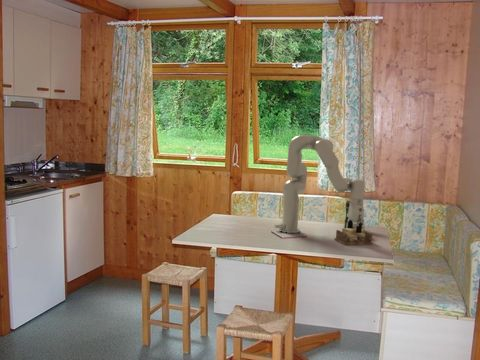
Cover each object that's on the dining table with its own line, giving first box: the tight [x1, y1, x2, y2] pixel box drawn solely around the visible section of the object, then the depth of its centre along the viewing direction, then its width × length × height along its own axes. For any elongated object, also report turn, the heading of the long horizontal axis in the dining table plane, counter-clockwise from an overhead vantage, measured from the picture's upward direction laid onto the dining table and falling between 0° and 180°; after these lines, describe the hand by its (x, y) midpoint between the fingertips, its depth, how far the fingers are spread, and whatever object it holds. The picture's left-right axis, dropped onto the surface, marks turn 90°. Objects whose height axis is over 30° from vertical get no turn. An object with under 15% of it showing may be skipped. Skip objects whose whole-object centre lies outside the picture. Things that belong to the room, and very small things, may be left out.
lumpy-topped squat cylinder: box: [346, 221, 366, 238], centre depth 302 cm, size 10×13×9 cm
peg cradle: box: [334, 229, 374, 246], centre depth 285 cm, size 18×12×6 cm, turn 108°
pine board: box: [341, 227, 366, 238], centre depth 285 cm, size 12×5×4 cm, turn 107°
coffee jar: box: [343, 200, 350, 228], centre depth 318 cm, size 10×8×19 cm
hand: (354, 230), depth 285 cm, fingers open, 9 cm apart
